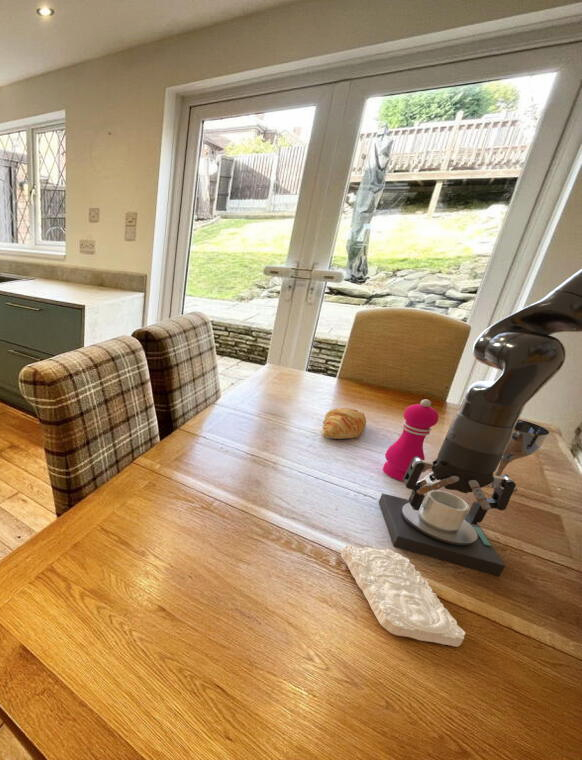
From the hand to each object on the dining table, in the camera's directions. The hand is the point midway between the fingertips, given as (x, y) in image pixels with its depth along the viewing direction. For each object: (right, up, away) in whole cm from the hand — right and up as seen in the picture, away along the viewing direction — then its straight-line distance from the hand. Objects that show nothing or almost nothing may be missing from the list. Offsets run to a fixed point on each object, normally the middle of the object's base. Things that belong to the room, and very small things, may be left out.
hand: (441, 514), depth 75 cm
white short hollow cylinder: (0, -2, +1) cm, 2 cm away
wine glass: (+30, +1, +18) cm, 35 cm away
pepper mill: (+9, +3, +21) cm, 23 cm away
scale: (0, -5, +2) cm, 5 cm away
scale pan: (0, -2, +1) cm, 2 cm away
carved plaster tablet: (-18, -10, -11) cm, 23 cm away
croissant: (+8, +11, +41) cm, 43 cm away
